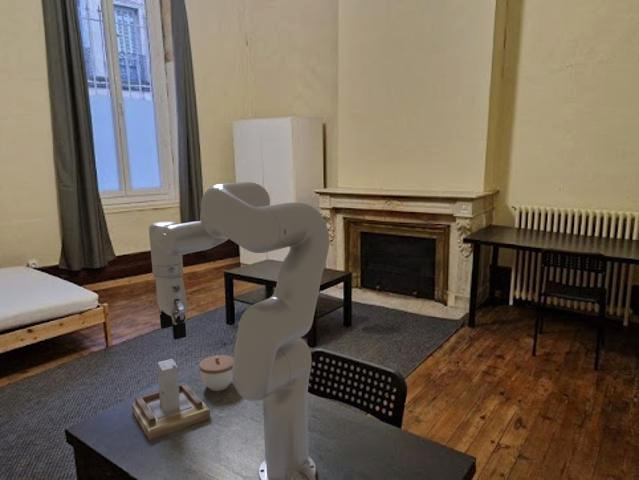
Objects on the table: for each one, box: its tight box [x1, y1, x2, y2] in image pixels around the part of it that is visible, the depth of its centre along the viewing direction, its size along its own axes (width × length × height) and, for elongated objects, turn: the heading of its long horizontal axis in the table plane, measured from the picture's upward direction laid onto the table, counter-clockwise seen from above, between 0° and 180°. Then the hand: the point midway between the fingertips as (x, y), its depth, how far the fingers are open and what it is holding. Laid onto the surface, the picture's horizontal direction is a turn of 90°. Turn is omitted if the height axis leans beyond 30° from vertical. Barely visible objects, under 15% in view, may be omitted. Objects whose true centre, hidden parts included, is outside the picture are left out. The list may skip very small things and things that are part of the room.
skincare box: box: [157, 358, 180, 412], centre depth 123 cm, size 6×4×12 cm
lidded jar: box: [198, 354, 234, 392], centre depth 139 cm, size 11×11×9 cm
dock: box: [131, 381, 211, 441], centre depth 124 cm, size 16×16×4 cm
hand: (173, 332), depth 121 cm, fingers open, 9 cm apart
